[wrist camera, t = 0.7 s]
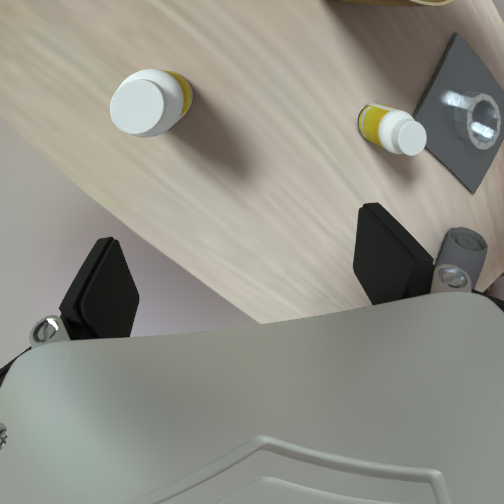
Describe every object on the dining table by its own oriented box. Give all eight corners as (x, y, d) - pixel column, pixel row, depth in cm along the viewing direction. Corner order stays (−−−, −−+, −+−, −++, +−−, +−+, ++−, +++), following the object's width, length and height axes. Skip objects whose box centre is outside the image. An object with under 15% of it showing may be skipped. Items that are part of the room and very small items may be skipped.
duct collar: (453, 33, 25) (470, 33, 22) (512, 109, 32) (527, 115, 28) (404, 129, 35) (420, 135, 31) (470, 191, 41) (484, 201, 37)
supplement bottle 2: (358, 144, 36) (395, 166, 28) (351, 105, 33) (389, 117, 25) (391, 137, 35) (432, 157, 27) (386, 100, 32) (429, 111, 24)
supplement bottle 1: (169, 60, 28) (140, 50, 17) (204, 97, 31) (194, 106, 20) (129, 98, 30) (84, 110, 19) (163, 133, 33) (135, 161, 22)
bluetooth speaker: (433, 225, 44) (466, 257, 36) (467, 221, 44) (499, 250, 36) (405, 317, 57) (425, 351, 48) (437, 308, 57) (457, 339, 49)
